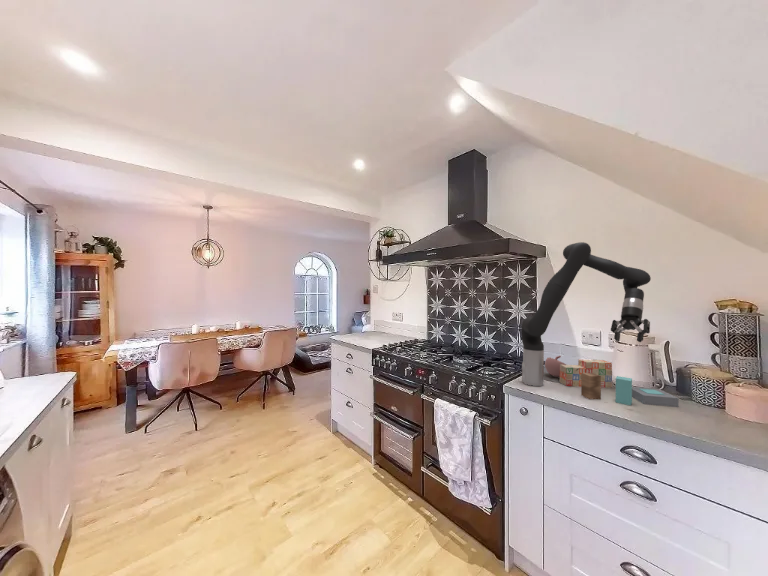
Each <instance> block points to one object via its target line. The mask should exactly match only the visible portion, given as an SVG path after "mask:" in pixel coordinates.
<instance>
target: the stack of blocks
mask: <svg viewBox="0 0 768 576" xmlns="http://www.w3.org/2000/svg"><path fill="white" fill-rule="evenodd" d="M581 373H594V374H597V375H599V376H601V389H602V388H604V389H605V388H607V389H612V388H613V386H612V384H613V380H612V379H613V363H612V362H609V361H608V360H607V361H606V360H603V359H584V358H583V359H581V358H580V359H579V358H578V363H577V364H567V365H560V377H559V383H561V384H562V385H563V386H566V387H580V388H581Z"/></svg>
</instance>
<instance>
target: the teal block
mask: <svg viewBox="0 0 768 576" xmlns="http://www.w3.org/2000/svg"><path fill="white" fill-rule="evenodd" d="M632 387H633V378H631V377H627V376H619V375H616V377H615V403H618V404H622V405H627V406H632V403H633V397H632Z"/></svg>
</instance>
